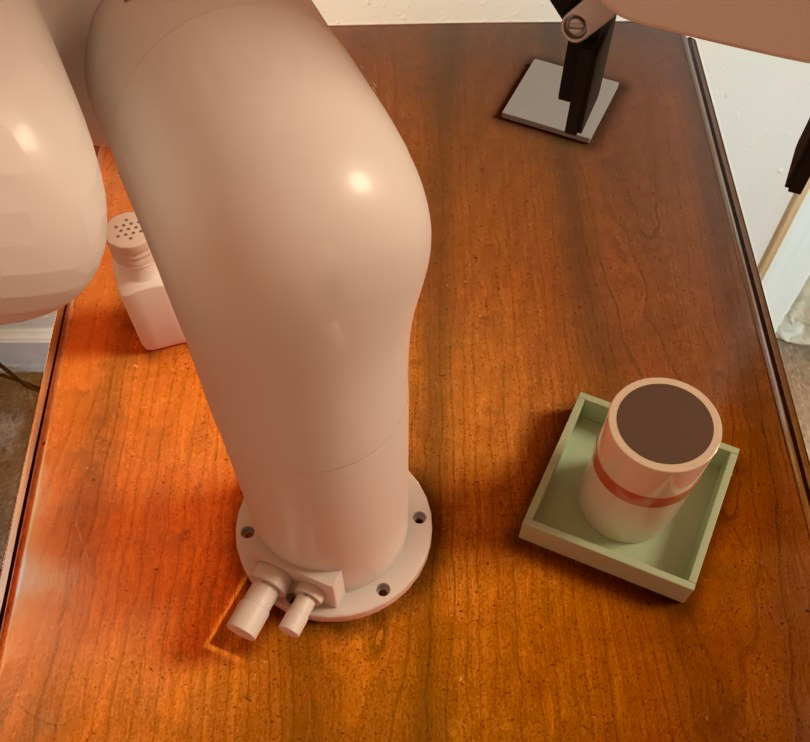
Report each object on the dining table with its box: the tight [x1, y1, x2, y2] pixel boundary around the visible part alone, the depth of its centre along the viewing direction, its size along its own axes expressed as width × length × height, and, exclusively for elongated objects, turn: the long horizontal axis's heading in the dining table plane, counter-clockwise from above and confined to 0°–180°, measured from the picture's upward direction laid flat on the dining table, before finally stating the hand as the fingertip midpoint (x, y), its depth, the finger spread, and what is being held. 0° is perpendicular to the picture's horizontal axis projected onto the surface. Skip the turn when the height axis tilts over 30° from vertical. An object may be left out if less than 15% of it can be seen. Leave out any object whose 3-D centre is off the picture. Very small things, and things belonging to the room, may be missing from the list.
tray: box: [518, 391, 741, 604], centre depth 53 cm, size 11×11×2 cm
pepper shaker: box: [106, 211, 187, 351], centre depth 56 cm, size 4×4×10 cm
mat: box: [501, 58, 620, 144], centre depth 71 cm, size 8×8×1 cm
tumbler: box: [578, 376, 723, 543], centre depth 50 cm, size 6×6×9 cm
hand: (686, 143), depth 36 cm, fingers open, 9 cm apart
